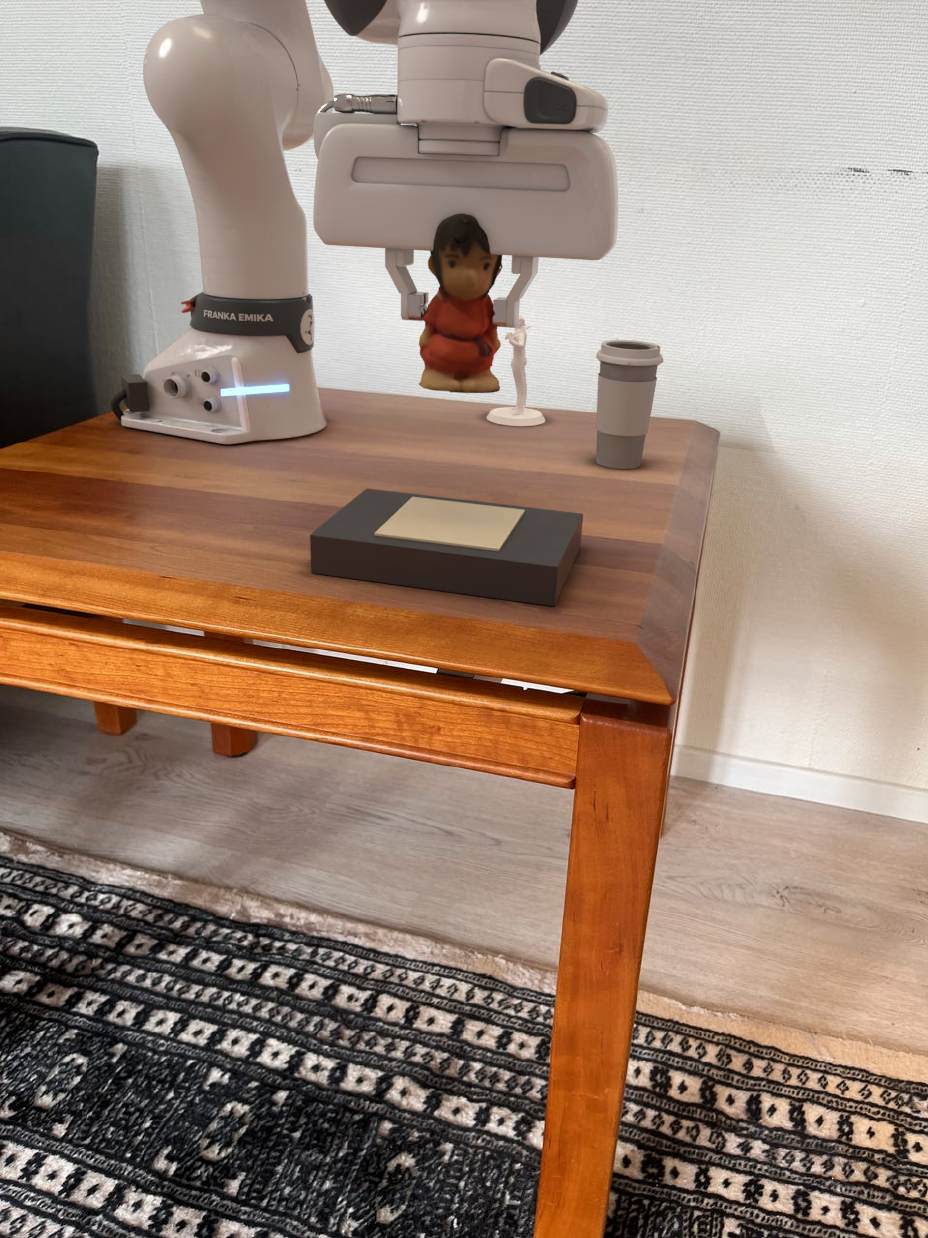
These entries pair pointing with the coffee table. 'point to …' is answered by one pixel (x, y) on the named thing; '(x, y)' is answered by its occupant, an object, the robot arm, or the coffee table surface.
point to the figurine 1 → (461, 310)
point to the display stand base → (450, 545)
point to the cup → (625, 400)
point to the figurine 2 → (517, 385)
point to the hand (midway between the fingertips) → (460, 322)
